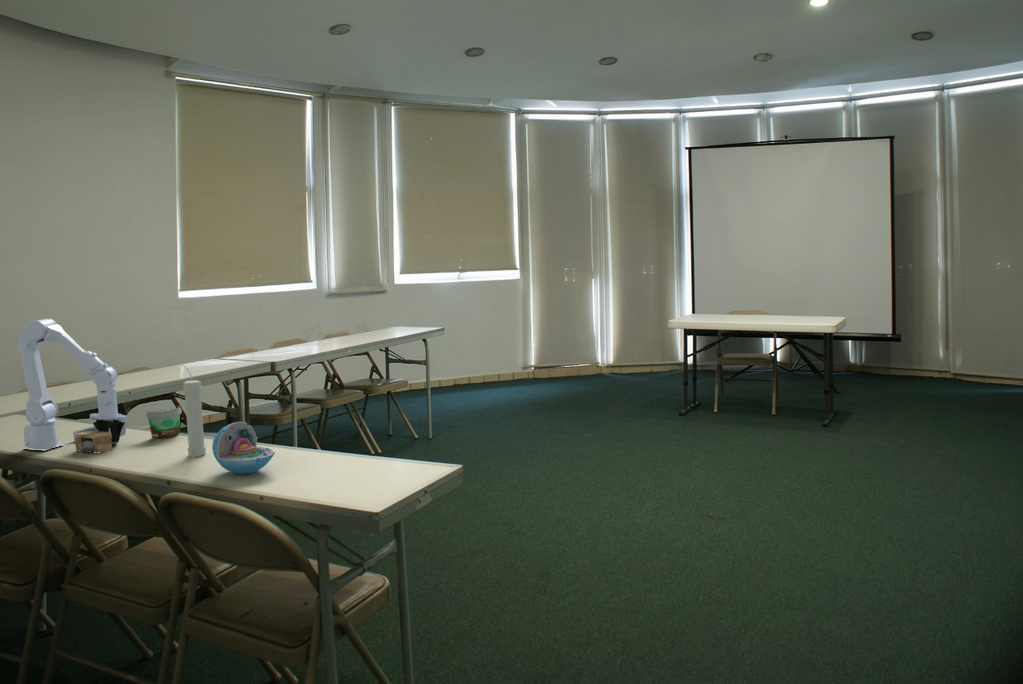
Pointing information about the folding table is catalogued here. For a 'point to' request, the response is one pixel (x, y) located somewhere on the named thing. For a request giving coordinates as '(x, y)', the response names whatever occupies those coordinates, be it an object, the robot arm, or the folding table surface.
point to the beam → (94, 440)
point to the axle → (91, 445)
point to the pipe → (194, 417)
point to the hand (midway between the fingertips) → (110, 441)
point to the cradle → (97, 430)
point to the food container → (164, 423)
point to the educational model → (240, 449)
